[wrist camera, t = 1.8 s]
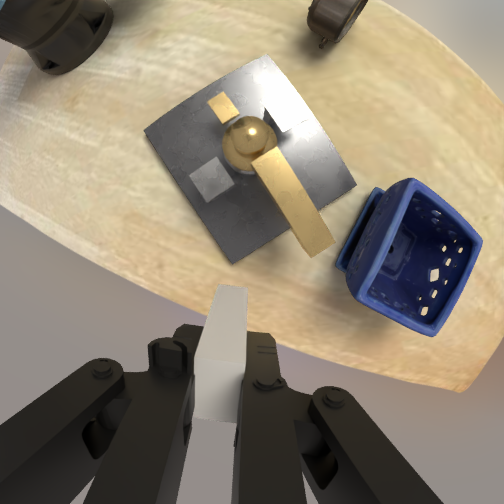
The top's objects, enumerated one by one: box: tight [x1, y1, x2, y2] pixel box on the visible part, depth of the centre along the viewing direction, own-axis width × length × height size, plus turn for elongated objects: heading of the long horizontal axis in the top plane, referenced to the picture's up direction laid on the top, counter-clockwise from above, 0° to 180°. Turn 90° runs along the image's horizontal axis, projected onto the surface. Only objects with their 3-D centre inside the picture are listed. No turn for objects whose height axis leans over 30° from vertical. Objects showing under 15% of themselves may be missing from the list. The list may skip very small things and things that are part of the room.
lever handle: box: [207, 91, 335, 258], centre depth 24 cm, size 17×5×7 cm, turn 33°
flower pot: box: [335, 178, 483, 337], centre depth 28 cm, size 13×13×12 cm
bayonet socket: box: [144, 54, 357, 264], centre depth 28 cm, size 20×18×7 cm
